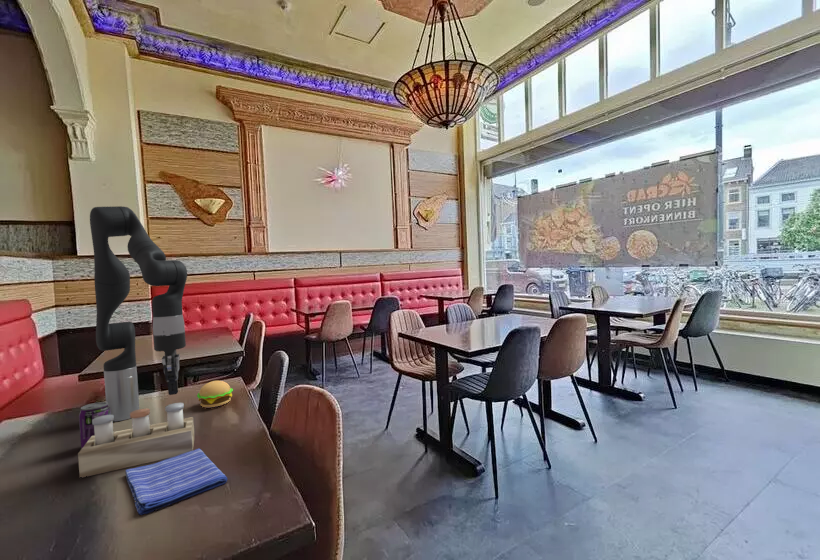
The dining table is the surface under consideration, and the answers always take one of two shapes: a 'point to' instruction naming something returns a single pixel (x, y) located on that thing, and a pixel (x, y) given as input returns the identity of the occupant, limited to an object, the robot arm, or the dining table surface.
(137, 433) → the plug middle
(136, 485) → the dish towel
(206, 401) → the hamburger
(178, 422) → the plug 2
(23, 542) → the dining table surface
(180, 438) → the beech block
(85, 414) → the beverage can
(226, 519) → the dining table surface
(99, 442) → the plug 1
